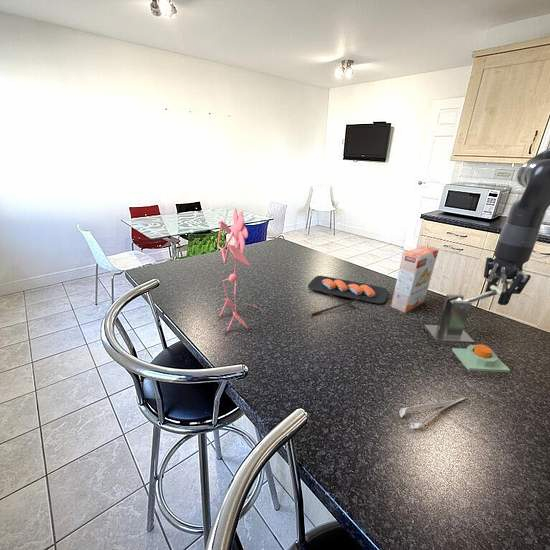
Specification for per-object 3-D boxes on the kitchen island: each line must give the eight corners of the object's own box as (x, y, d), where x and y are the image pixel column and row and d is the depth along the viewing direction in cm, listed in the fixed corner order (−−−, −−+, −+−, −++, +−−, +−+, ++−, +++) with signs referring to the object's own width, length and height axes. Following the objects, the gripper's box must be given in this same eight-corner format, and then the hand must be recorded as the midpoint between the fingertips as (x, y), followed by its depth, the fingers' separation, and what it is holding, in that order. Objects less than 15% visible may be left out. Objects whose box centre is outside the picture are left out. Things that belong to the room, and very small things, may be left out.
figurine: (231, 348, 80) (226, 221, 66) (212, 305, 102) (204, 203, 88) (282, 336, 86) (287, 217, 72) (253, 297, 107) (253, 200, 93)
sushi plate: (388, 292, 114) (389, 283, 112) (378, 332, 89) (380, 321, 87) (316, 278, 125) (317, 270, 123) (290, 310, 100) (290, 300, 98)
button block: (487, 354, 80) (492, 344, 79) (508, 375, 73) (512, 364, 71) (450, 353, 80) (454, 342, 79) (467, 373, 73) (471, 362, 71)
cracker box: (406, 316, 98) (419, 257, 90) (389, 308, 102) (401, 252, 94) (425, 303, 106) (439, 249, 98) (409, 297, 110) (422, 244, 102)
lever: (495, 289, 84) (494, 282, 83) (507, 297, 79) (506, 290, 78) (448, 305, 86) (447, 298, 85) (457, 313, 82) (456, 306, 81)
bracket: (458, 329, 91) (470, 293, 86) (473, 345, 84) (487, 306, 79) (423, 328, 91) (432, 291, 86) (434, 343, 84) (446, 304, 79)
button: (484, 349, 77) (486, 344, 76) (493, 359, 73) (495, 353, 73) (470, 349, 77) (472, 343, 76) (478, 358, 74) (480, 352, 73)
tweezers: (414, 432, 57) (417, 424, 56) (397, 413, 61) (399, 406, 60) (473, 410, 64) (476, 403, 63) (454, 395, 68) (456, 388, 67)
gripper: (554, 250, 69) (528, 313, 75) (511, 234, 82) (492, 288, 89) (521, 249, 69) (498, 312, 76) (484, 233, 82) (467, 287, 89)
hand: (495, 299), depth 82 cm, fingers closed on lever, 5 cm apart
